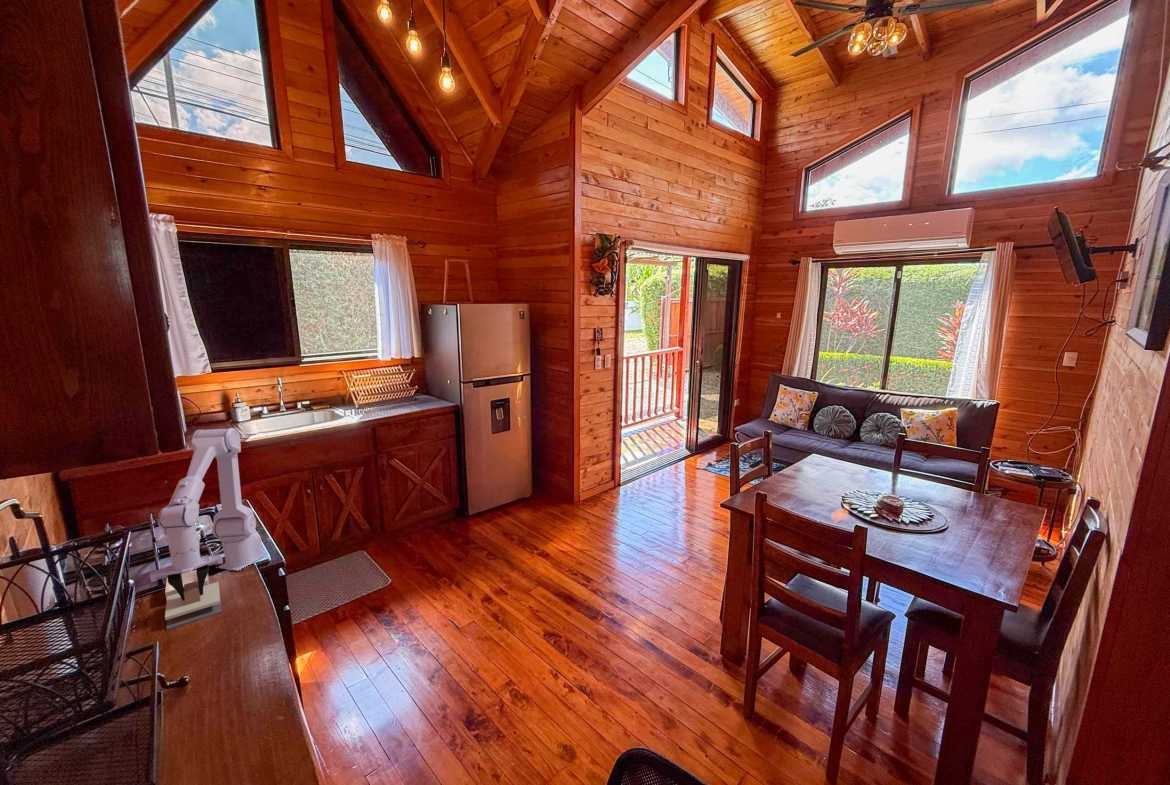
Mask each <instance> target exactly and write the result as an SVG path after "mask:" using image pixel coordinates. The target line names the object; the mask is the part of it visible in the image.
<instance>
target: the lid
mask: <svg viewBox="0 0 1170 785" xmlns="http://www.w3.org/2000/svg"><path fill="white" fill-rule="evenodd" d="M219 589H220V582H219V581H217V582H213V583H209V585H205V586H204V587H203V595H200V593H199V583H198V581H194V582H191V583H187V584H184V598H185V600H184V601H182V599H181V597H180V595H179V593H178V594H174V595H171V596H167V600H166V604H165V614H164V618H165V619H164V620H165V621H167V620H168V619H171V618H175V617H178V616H181V615H184V614H187V613H191V612H194V611H197V610H200V609H204V608H207V607H210V606H213V605H216V604H220V596H221V591H220V592H219Z"/></svg>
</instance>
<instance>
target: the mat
mask: <svg viewBox="0 0 1170 785" xmlns="http://www.w3.org/2000/svg"><path fill="white" fill-rule="evenodd" d="M219 592H220V593H221V588H219ZM221 613H222V598H221V595H220V604H216V605H213V606H210V607H207V608H204V609H200V610H197V611H194V612H191V613H187V614H184V615H181V616H178V617H175V618H171V619H168V620H166V631H169V630H172V629H175V628H178V627H182V626H185V625H188V624H192V623H193V622H197V621H200V620H203V619H207V618H209V617H212V616H215V615H218V614H221Z"/></svg>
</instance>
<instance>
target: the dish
mask: <svg viewBox="0 0 1170 785" xmlns="http://www.w3.org/2000/svg"><path fill="white" fill-rule="evenodd" d="M181 576H182V582H183V587H184V584H187V583H191V582H194V581H198V578H197V569H195V570H192V571H191V572H189V573H185V574H182V573H181ZM209 584H210V577H209V573H208V574H207V576H206V579H205V582H204V586H205V585H209ZM164 593H165V595H164V596H165V598H166V601H167V596H171V595H174V594H178V592H177V591H176V590H175V589H174V588H173V587H172V586H171V585H170V584H169V583H168V578H167V577H166V583H165V591H164Z"/></svg>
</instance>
